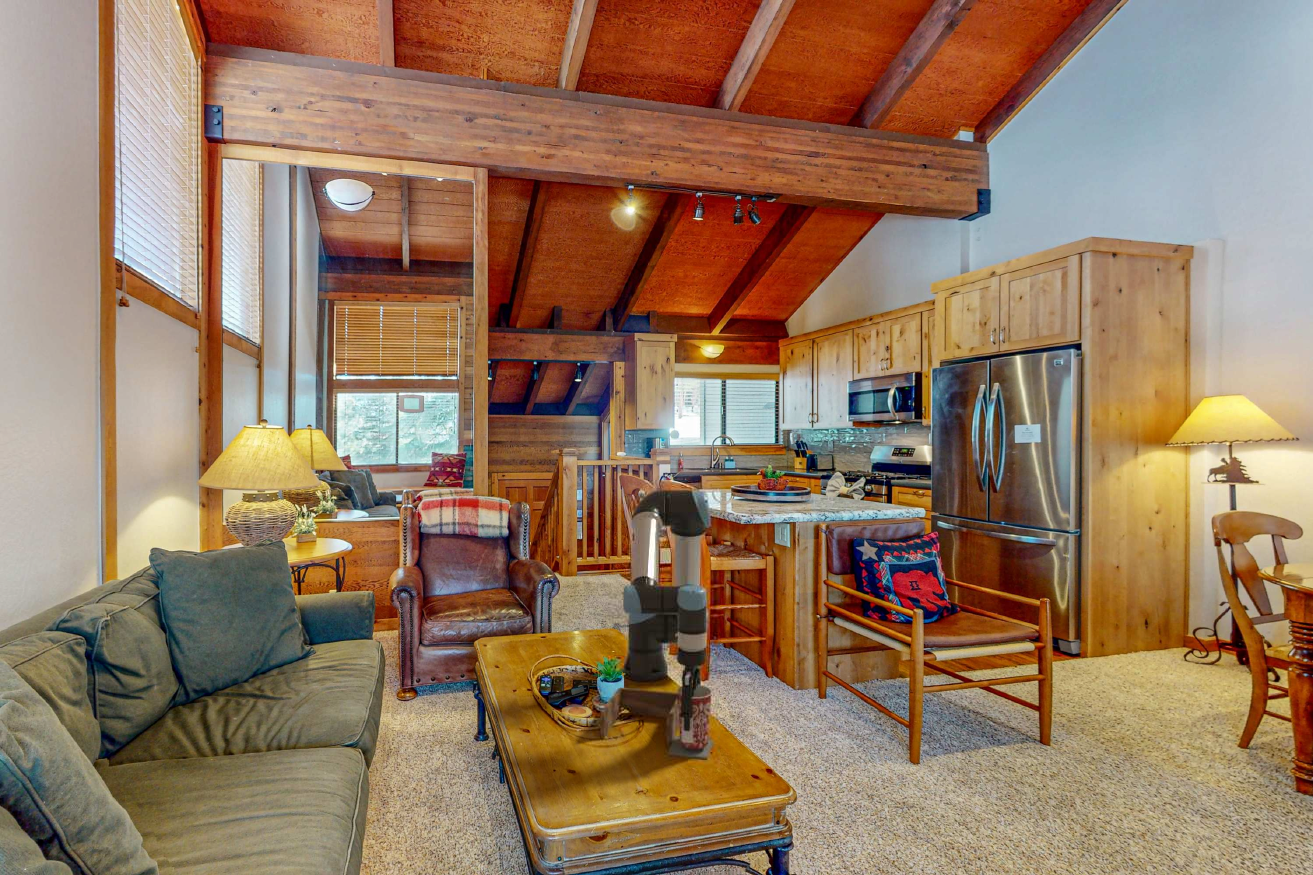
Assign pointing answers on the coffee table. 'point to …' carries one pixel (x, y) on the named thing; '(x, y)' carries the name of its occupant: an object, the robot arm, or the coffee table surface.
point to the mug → (698, 716)
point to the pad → (689, 750)
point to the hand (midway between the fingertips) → (691, 732)
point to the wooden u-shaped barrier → (642, 708)
